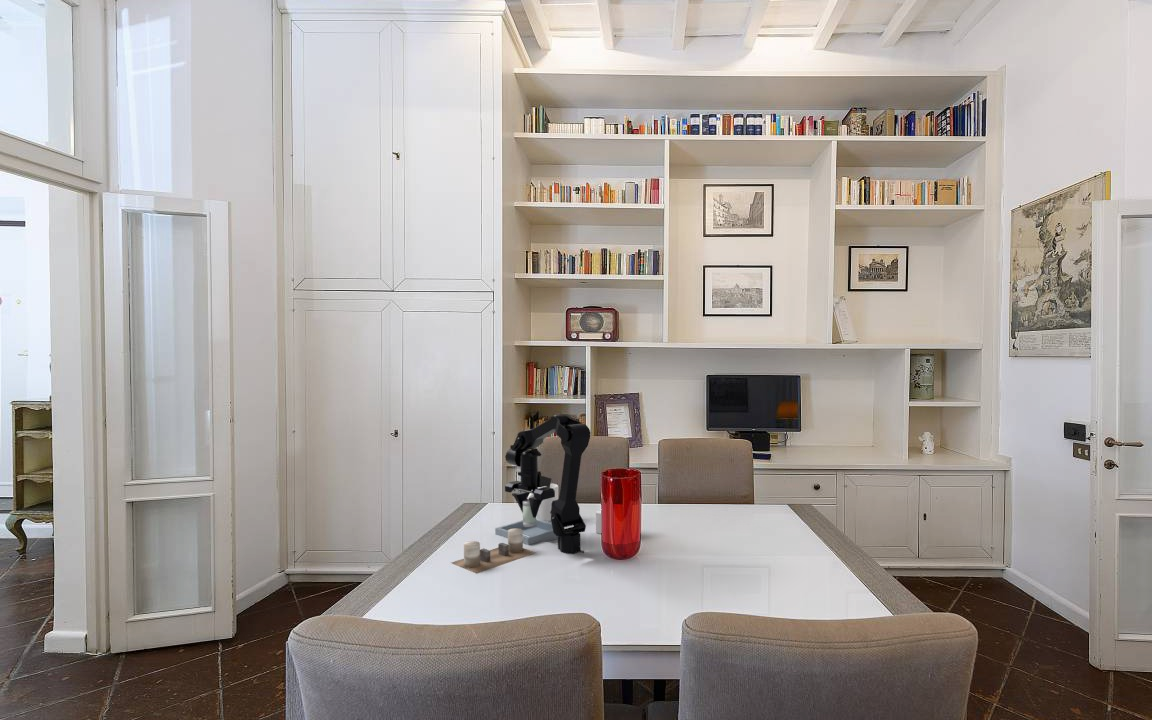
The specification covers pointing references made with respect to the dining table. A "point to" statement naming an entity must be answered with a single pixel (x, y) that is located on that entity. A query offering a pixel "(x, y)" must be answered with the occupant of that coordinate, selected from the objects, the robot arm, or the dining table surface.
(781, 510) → the dining table surface
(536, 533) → the tray
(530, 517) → the cylinder
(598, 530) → the medicine bottle
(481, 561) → the fuse rack
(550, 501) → the mug
